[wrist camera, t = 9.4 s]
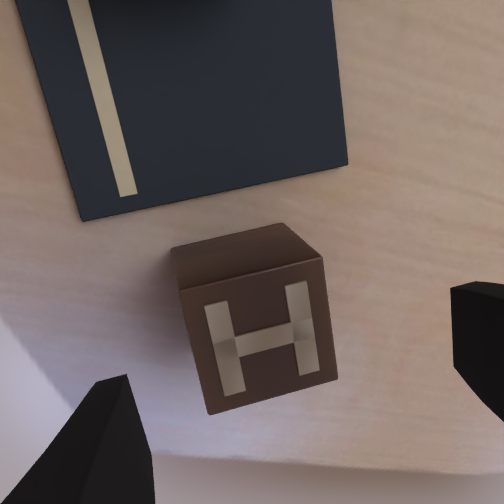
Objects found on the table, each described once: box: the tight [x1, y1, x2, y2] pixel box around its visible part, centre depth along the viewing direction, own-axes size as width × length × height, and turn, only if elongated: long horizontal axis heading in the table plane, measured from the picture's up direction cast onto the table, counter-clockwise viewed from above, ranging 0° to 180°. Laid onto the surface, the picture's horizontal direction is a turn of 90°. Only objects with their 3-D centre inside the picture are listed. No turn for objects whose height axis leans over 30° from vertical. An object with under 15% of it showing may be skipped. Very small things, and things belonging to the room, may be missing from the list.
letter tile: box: [171, 223, 338, 415], centre depth 17 cm, size 4×4×5 cm
